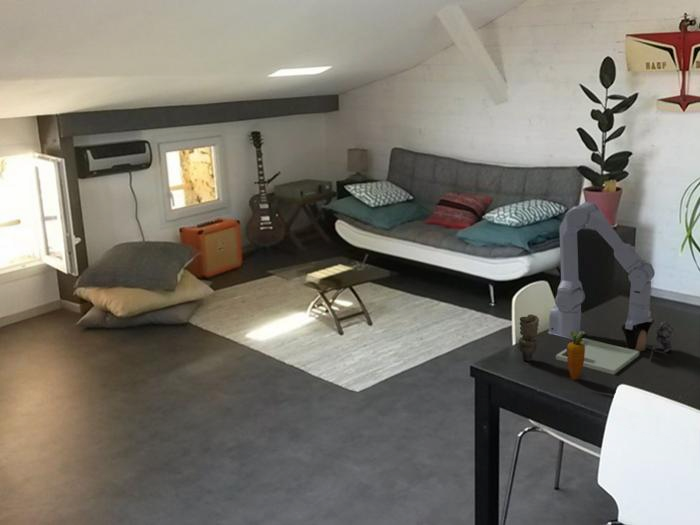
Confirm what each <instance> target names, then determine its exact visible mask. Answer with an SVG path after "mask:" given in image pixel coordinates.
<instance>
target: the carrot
mask: <svg viewBox="0 0 700 525" xmlns="http://www.w3.org/2000/svg"><path fill="white" fill-rule="evenodd" d="M582 332H583V331H582ZM582 332H580V333H579V334H578V336H577V338H576V334H574V333H573V331H571V335H572V338H573V339H572V340H573V341H572V342H569V343H568V344H567V346H568V351H567V362H566V363H567V368H568V372H569V375H570V378H571V380H573V381H577V380H578V378H579V377H580V375H581V373H582V370H583V368H584V367H583V363H584V355H585V345H584V344H582V343H580V342H582V341H583V339H582V337H583V335H584V334H583V333H582Z"/></svg>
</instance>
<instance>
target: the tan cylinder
mask: <svg viewBox="0 0 700 525" xmlns="http://www.w3.org/2000/svg"><path fill="white" fill-rule="evenodd" d="M646 342H647V337H646V331H644V330H642V331H641V332H640V334H639V337H638V340H637V345H636V348H635V349H631V350H636V351H640V352H644V351H646ZM626 348H627V349H630V348H628V347H627V346H626Z"/></svg>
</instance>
